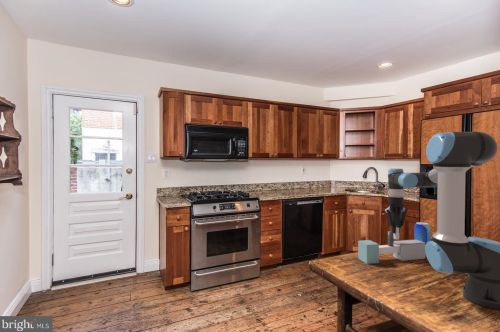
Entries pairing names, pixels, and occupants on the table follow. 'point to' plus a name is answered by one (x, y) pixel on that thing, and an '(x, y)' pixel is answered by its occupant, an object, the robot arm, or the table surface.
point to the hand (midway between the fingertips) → (396, 238)
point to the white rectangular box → (410, 250)
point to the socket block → (368, 251)
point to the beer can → (422, 232)
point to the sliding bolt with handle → (389, 245)
